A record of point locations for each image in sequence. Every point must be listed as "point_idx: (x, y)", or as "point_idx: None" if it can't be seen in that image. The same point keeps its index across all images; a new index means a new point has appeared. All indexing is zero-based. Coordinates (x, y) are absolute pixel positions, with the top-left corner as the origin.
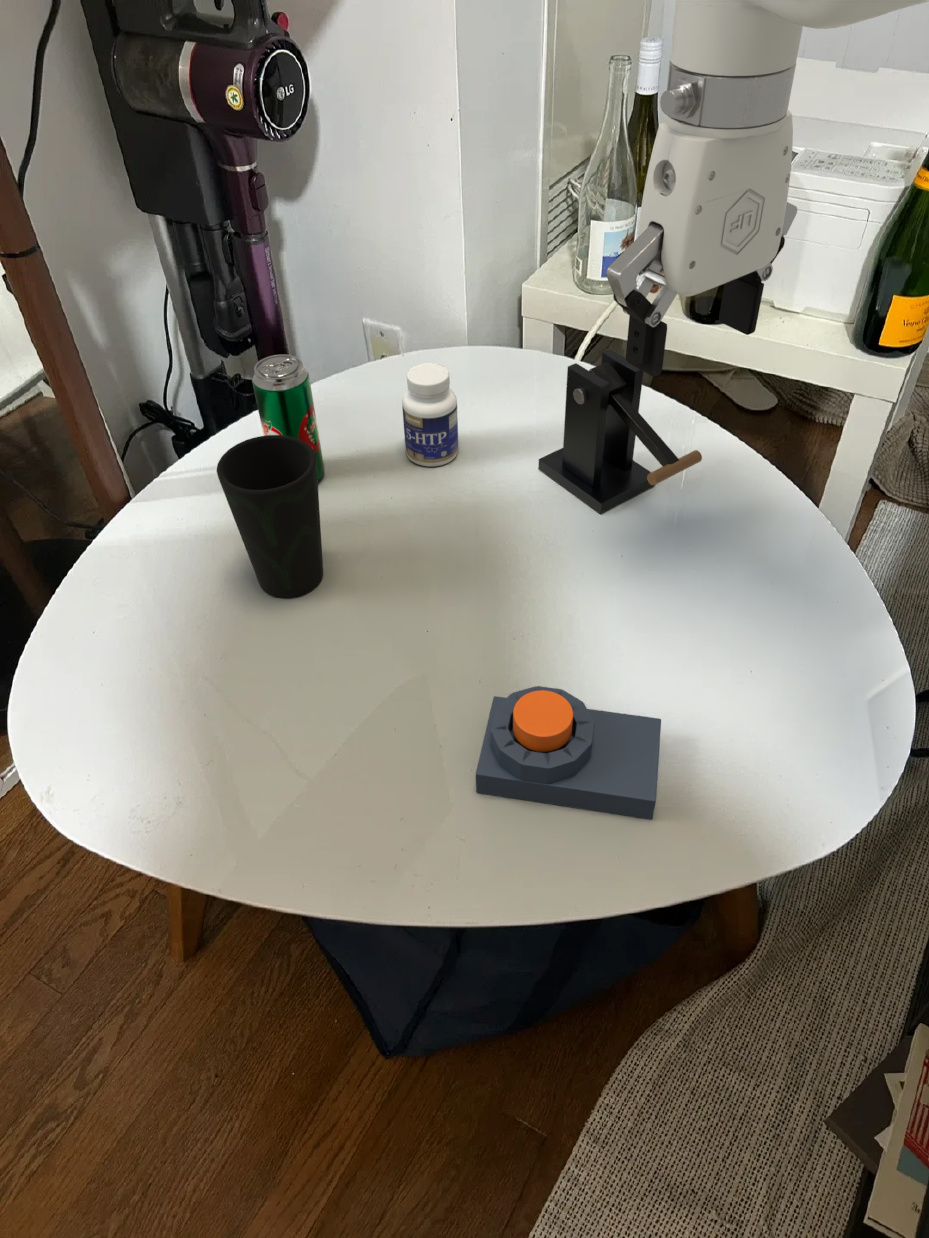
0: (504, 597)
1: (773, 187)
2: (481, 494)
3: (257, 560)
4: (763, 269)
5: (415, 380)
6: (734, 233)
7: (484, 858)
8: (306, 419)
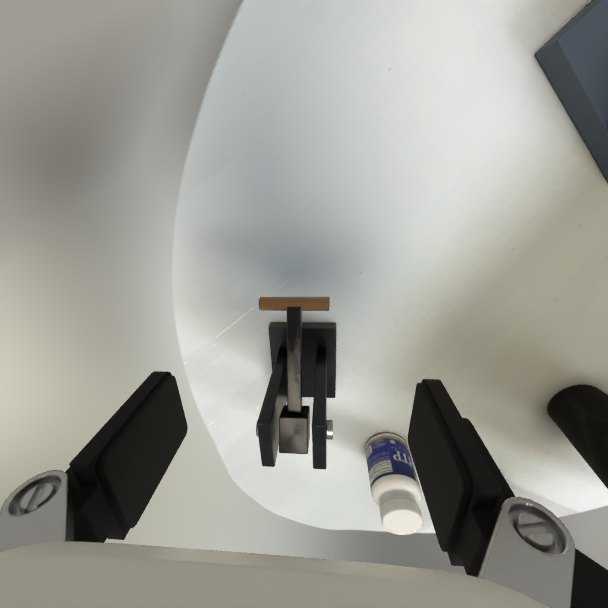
0: (477, 293)
1: None
2: (393, 393)
3: None
4: (38, 514)
5: (419, 522)
6: None
7: None
8: None
